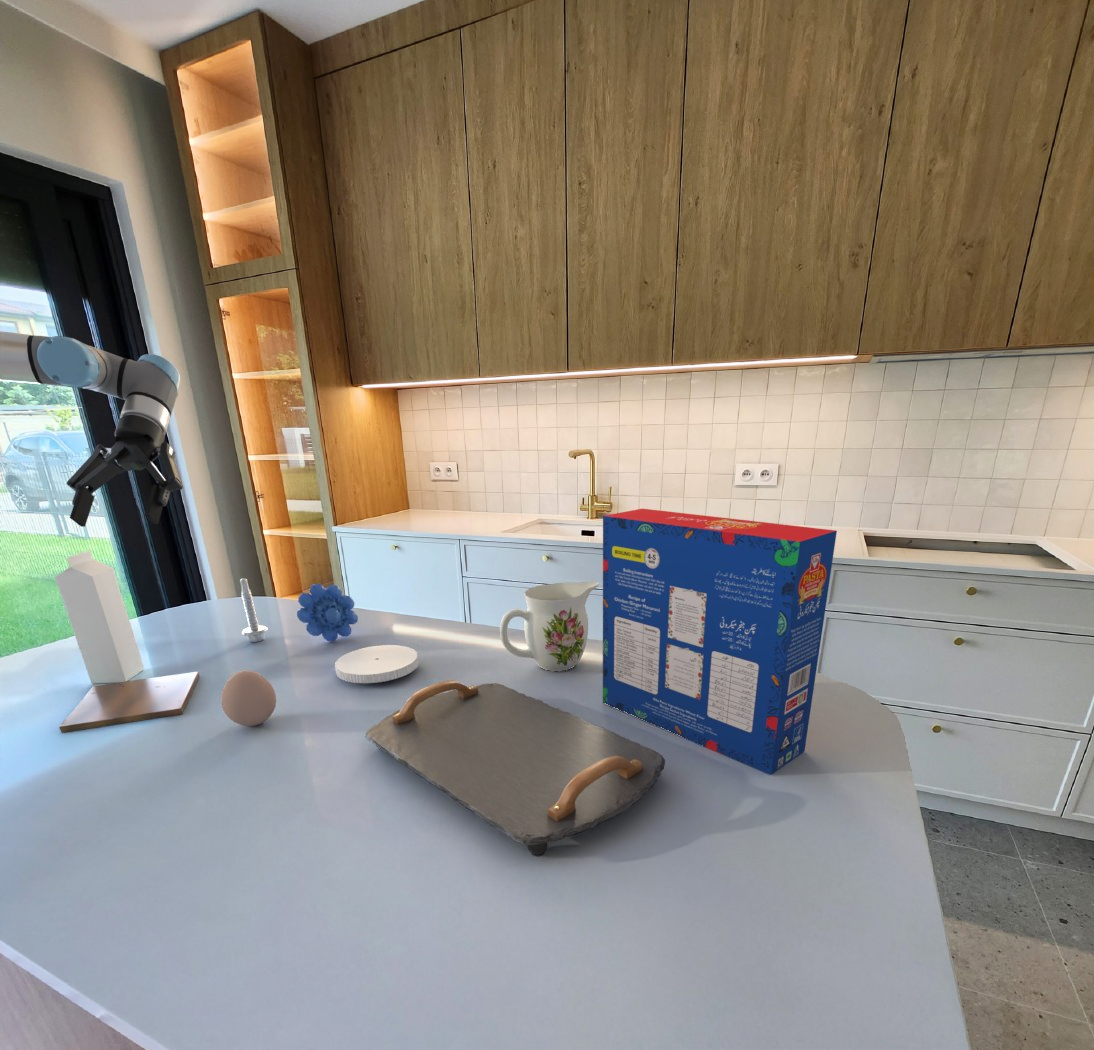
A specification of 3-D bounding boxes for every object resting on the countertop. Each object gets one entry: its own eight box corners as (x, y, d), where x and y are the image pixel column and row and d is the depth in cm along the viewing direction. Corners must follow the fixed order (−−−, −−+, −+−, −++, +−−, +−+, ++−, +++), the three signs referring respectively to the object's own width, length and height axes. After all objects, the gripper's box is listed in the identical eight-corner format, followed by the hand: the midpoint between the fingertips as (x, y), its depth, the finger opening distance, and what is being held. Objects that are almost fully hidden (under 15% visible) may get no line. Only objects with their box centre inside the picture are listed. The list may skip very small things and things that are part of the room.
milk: (144, 669, 114) (109, 549, 105) (125, 682, 108) (86, 556, 100) (110, 671, 114) (72, 550, 105) (90, 684, 108) (47, 558, 100)
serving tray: (353, 744, 85) (345, 703, 83) (486, 692, 99) (483, 656, 97) (546, 883, 59) (544, 829, 56) (689, 785, 73) (692, 738, 71)
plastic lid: (348, 696, 100) (346, 681, 99) (328, 668, 111) (326, 655, 110) (430, 676, 106) (429, 662, 105) (404, 652, 117) (402, 639, 116)
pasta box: (804, 751, 79) (836, 530, 68) (770, 775, 75) (799, 541, 64) (637, 688, 99) (642, 508, 88) (602, 703, 94) (602, 515, 83)
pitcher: (494, 662, 111) (488, 587, 106) (586, 647, 117) (585, 575, 111) (512, 685, 101) (507, 604, 96) (612, 667, 107) (612, 590, 102)
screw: (271, 635, 130) (267, 642, 125) (246, 637, 129) (241, 645, 124) (258, 573, 124) (253, 579, 120) (232, 575, 124) (226, 581, 119)
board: (61, 732, 91) (58, 726, 91) (95, 691, 105) (93, 685, 105) (182, 714, 96) (180, 708, 95) (199, 676, 110) (198, 671, 109)
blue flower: (310, 653, 118) (299, 592, 114) (299, 644, 123) (287, 585, 119) (368, 639, 125) (359, 581, 120) (355, 631, 130) (346, 575, 125)
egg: (285, 726, 91) (273, 673, 87) (231, 740, 87) (217, 685, 84) (276, 708, 96) (264, 658, 93) (225, 721, 93) (211, 669, 90)
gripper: (217, 439, 121) (194, 530, 113) (93, 444, 122) (63, 535, 115) (195, 409, 114) (169, 505, 106) (64, 415, 115) (29, 510, 108)
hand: (114, 521), depth 110 cm, fingers open, 13 cm apart
